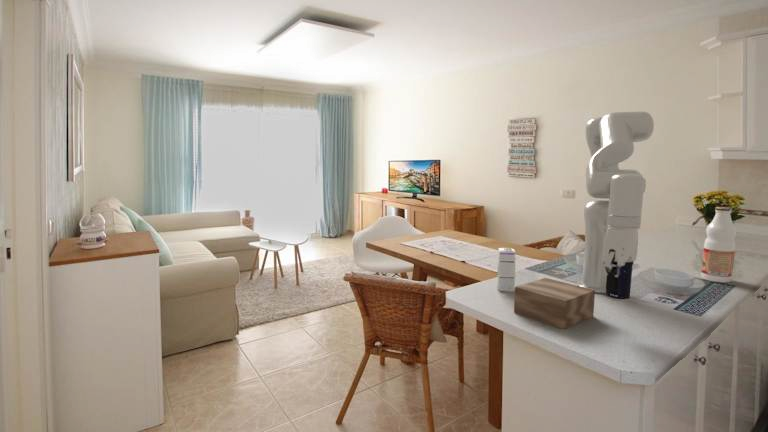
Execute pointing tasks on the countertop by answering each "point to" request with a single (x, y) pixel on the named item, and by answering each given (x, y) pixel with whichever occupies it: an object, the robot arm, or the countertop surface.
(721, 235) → the fruit juice
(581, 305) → the walnut block
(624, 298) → the beverage can
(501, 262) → the syrup box
